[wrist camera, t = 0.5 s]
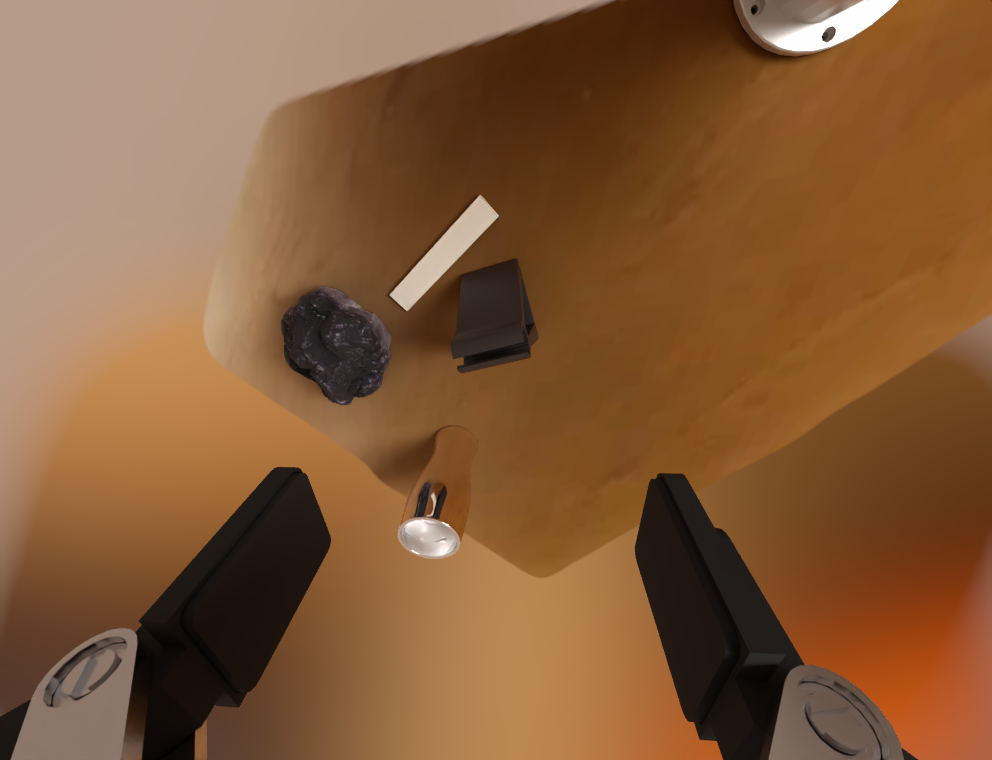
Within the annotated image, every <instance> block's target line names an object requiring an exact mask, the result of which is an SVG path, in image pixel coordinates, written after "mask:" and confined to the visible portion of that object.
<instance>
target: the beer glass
mask: <svg viewBox="0 0 992 760" xmlns="http://www.w3.org/2000/svg"><path fill="white" fill-rule="evenodd" d="M477 450H478V441H477V439H476V437H475V436H474V435H473V434H472V433H471V432H470V431H469V430H467V429H465V428H462V427H458V426H449V427H446V428H443V429H441V430H440V431H439V432H438V433H437V435H436V437H435V440H434V449H433V453H432V456H431V458H430V460H429V461H428V463H427V465H426V466H425V468H424V469H423V471H422V472H421V474H420V475H419V477H418V478H417V480H416V482H415V484H414V485H413V487H412V490H411V492H410V494H409V497H408V499H407V503H406V505H405V509H404V512H403V515H402V519H401V522H400V526H399V528H398V532H397V535H398V539H399V541H400V543H401V544H402V545H403V547H404V548H406V549H407V550H408V551H410V552H411V553H413V554H415V555H418V556H421V557H424V558H429V559H442V558H447V557H450V556H452V555H453V554H455V553H456V552H457V551H458V549H459V547H460V543H461V539H462V536H463V533H464V529H465V526H466V522H467V518H468V514H469V508H470V499H471V464H472V461H473V459H474V457H475V455H476V453H477Z"/></svg>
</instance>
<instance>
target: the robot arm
mask: <svg viewBox="0 0 992 760" xmlns="http://www.w3.org/2000/svg"><path fill="white" fill-rule="evenodd" d="M898 1H899V0H733V2H734V7H735V11H736V13H737V16H738V18H739V20H740V23H741V25H742V27H743V28H744V30H745V31H746V32H747V34H748V35H749V36H750V38H751V39H752V40H753V41H754V42H756V43H757V44H758V45H760V46H761V47H762V48H763V49H765V50H768V51H770V52H773V53H776V54H778V55H786V56H802V55H809V54H815V53H817V52H820V51H823V50H826V49H829V48H832V47H834V46H836V45H838V44H840V43H843V42H845V41H847V40H849V39H851V38H853V37H854V36H856V35H857V34H859V33H860V32H862V31H864V30H865V29H867V28H868V27H870V26H871V25H872V24H874V23H875V22H876V21H877V20H878V19H879V18H881V17H882V16H883V15H884V14H885V13H887V12H888V11H889V10H890V9H891V8H892V7H893V6H894V5H895V4H896V3H897V2H898ZM751 7H753V8H754V9H755V12H754V15H753V14H752V13H751ZM822 35H823V40H822ZM330 543H331V537H330V534H329V531H328V528H327V526H326V523H325V521H324V518H323V516H322V513H321V510H320V508H319V505H318V502H317V500H316V498H315V495H314V492H313V489H312V487H311V484H310V482H309V479H308V477H307V475H306V474H305V473H303V472H302V471H301V469H299V468H295V467H277V468H274V469H273V470H272V471H271V472H270V473H269V474H268V475H267V476H266V477H265V479H264V480H263V481H262V482H261V483H260V484H259V485H258V487H257V488H256V489H255V490H254V491H253V492H252V493H251V494H250V496H249V497H248V498H247V499H246V500H245V501H244V502H243V503H242V505H241V506H240V507H239V508H238V509H237V510H236V511H235V513H234V514H233V515H232V516H231V517H230V518H229V519H228V521H227V522H226V523H225V524H224V525H223V526H222V527H221V529H220V530H219V531H218V532H217V533H216V534H215V535H214V536H213V537H212V539H211V540H210V541H209V542H208V543H207V544H206V546H205V547H204V548H203V549H202V550H201V551H200V552H199V553H198V554H197V556H196V557H195V558H194V559H193V560H192V561H191V562H190V564H189V565H188V566H187V567H186V568H185V569H184V570H183V571H182V573H181V574H180V575H179V576H178V577H177V578H176V579H175V580H174V582H173V583H172V584H171V585H170V586H169V587H168V588H167V589H166V591H165V592H164V593H163V594H162V595H161V596H160V597H159V599H158V600H157V601H156V602H155V603H154V604H153V605H152V606H151V608H150V609H149V610H148V611H147V612H146V613H145V614H144V616H143V617H142V618H141V619H140V620H139V622H140V623H141V624H142V626H141V627H140V628H139V629H138V630H137V631H136V633H134V632H133V631H132V630H131V629H125V628H120V629H114V630H109V631H107V632H104V633H102V634H99V635H97V636H95V637H93V638H91V639H90V640H88V641H86V642H84V643H82V644H81V645H79V646H78V647H77V648H75V649H74V650H73V651H71V652H70V653H69V654H67V655H66V656H65V657H64V658H62V659H61V660H60V661H59V662H58V663H57V664H56V665H55V666H54V667H53V668H52V669H51V670H50V671H49V672H48V674H47V675H46V676H45V677H44V679H43V680H42V681H41V682H40V684H39V685H38V687H37V689H36V691H35V693H34V695H33V697H32V699H31V700H29V701H27V702H26V703H24V704H22V705H20V706H18V707H17V708H15V709H13V710H11V711H10V712H8V713H6V714H4V715H3V716H1V717H0V760H207V744H206V743H207V741H206V740H207V739H206V718H207V717H208V715H209V713H210V712H211V710H212V708H213V707H214V705H216V706H226V707H239V706H240V705H241V703H242V701H243V699H244V697H245V695H246V694H247V692H250V691H251V690H252V689H253V688H254V687H255V686H256V685H257V683H258V681H259V679H260V677H261V676H262V674H263V672H264V670H265V668H266V666H267V665H268V663H269V661H270V659H271V657H272V655H273V653H274V651H275V650H276V648H277V646H278V644H279V642H280V640H281V638H282V636H283V635H284V633H285V631H286V629H287V627H288V625H289V623H290V621H291V620H292V618H293V616H294V614H295V612H296V610H297V608H298V606H299V604H300V603H301V601H302V599H303V597H304V595H305V593H306V591H307V590H308V588H309V586H310V584H311V582H312V580H313V578H314V576H315V575H316V573H317V571H318V569H319V567H320V565H321V563H322V561H323V559H324V558H325V556H326V554H327V552H328V550H329V548H330ZM635 555H636V560H637V564H638V567H639V570H640V574H641V577H642V580H643V584H644V587H645V590H646V593H647V597H648V600H649V603H650V606H651V609H652V613H653V616H654V619H655V623H656V626H657V629H658V632H659V636H660V639H661V642H662V646H663V649H664V652H665V655H666V659H667V662H668V665H669V669H670V672H671V675H672V678H673V681H674V685H675V688H676V691H677V695H678V698H679V701H680V705H681V708H682V711H683V713H684V715H685V718H686V719H687V721H689V722H694V724H695V726H696V730H697V733H698V736H699V739H700V740H712V741H717V743H718V746H719V749H720V751H721V754H722V757H723V760H918V759H916V758H915V757H914V756H912V755H911V754H909V753H908V752H907V751H905V750H904V749H902V748H901V744H900V742H899V739H898V737H897V735H896V734H895V731H894V729H893V727H892V726H891V724H890V723H889V721H888V720H887V719H886V717H885V716H884V715H883V713H882V712H881V711H880V709H879V708H878V707H877V706H876V705H875V704H874V703H873V702H872V701H871V700H870V699H869V698H868V697H867V696H866V695H865V694H864V693H863V692H862V691H861V690H860V689H859V688H857V687H856V686H854V685H853V684H852V683H850V682H849V681H847V680H846V679H845V678H843V677H841V676H839V675H838V674H835V673H834V672H831V671H830V670H827V669H825V668H821V667H817V666H814V665H804V663H803V661H802V660H801V658H800V656H799V654H798V653H797V651H796V650H795V648H794V646H793V644H792V643H791V641H790V639H789V638H788V636H787V634H786V633H785V631H784V629H783V627H782V626H781V624H780V622H779V621H778V619H777V617H776V616H775V614H774V612H773V611H772V609H771V607H770V605H769V604H768V602H767V600H766V599H765V597H764V595H763V594H762V592H761V590H760V588H759V587H758V585H757V583H756V582H755V580H754V578H753V577H752V575H751V573H750V572H749V570H748V568H747V567H746V565H745V563H744V561H743V560H742V558H741V556H740V555H739V553H738V551H737V550H736V548H735V546H734V544H733V543H732V541H731V539H730V538H729V537H728V535H727V534H726V532H724V531H723V530H722V529H719V528H714V526H713V524H712V523H711V521H710V519H709V517H708V516H707V514H706V512H705V510H704V508H703V507H702V505H701V503H700V501H699V499H698V498H697V496H696V494H695V492H694V491H693V489H692V487H691V485H690V484H689V482H688V480H687V478H686V477H685V476H684V475H683V474H666V473H660V474H658V475H657V477H656V479H651V480H650V482H649V486H648V491H647V495H646V500H645V504H644V509H643V513H642V518H641V522H640V527H639V531H638V536H637V540H636V545H635Z"/></svg>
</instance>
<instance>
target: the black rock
mask: <svg viewBox="0 0 992 760" xmlns="http://www.w3.org/2000/svg"><path fill="white" fill-rule="evenodd" d="M281 324H282V334H283V336H284V342H285V345H284V354H285V358H286V362H287V363H288V365H289V366H290V367H291V368H292V369H293V370H294V371H296V372H298V373H300V374H301V375H303V376H304V377H306V378H308V379H311V380H313V381H315V382H316V383H318V386H319V387H321V389H322V392H323V394H324V395H325V397H327V398H328V399H329V400H330V401H331V402H334V403H337V404H340V405H348V404H350V403H351V401H352V400H353V398H354V397H359V398H360V397H365V396H368V395H370V394H372V393H373V392H374V391H376V390H377V389H379V388H380V387H381V385H382V380H383V375H382V374H383V372H384V371H385V370H386V368H387V366H388V364H389V360H390V358H391V352H390V349H389V347H390V343H391V335H390V334H389V332H388V331H387V329H386V328H385V326H384V324H383V322H382V321H381V320H380V319H379V318H378V317H377V315H375V314H374V313H370V312H368V311H366V310H364V309H363V308H362V307H361V306H360V305H358V304H357V303H356V302H354V300H352V299H349V297H348V296H347V295H345V294H344V293H343V292H341V291H339V290H336V289H333V288H330V287H323V286H321V287H319V288H317V289H315V290H313V291H311V292H309V293H307V294H305V295H303V296H302V297H301V298H300V299H299V301H298V303H297V304H296V305H295V306H293V307H290V308H289V310H288V311H287V312H286V314H285V315H284V317H283V319H282V320H281Z"/></svg>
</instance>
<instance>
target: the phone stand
mask: <svg viewBox="0 0 992 760" xmlns="http://www.w3.org/2000/svg"><path fill="white" fill-rule="evenodd" d="M537 340H538V334H537V330H536V327H535V323H534V319H533V316H532V312H531V308H530V304H529V301H528V297H527V293H526V290H525V286H524V282H523V278H522V275H521V271H520V267H519V264H518V260H517V259H514V260H511V261H507V262H504V263H501V264H497V265H494V266H491V267H487V268H484V269H481V270H477V271H474V272H470V273H467V274H464V275H462V277H461V288H460V299H459V310H458V321H457V332H456V336H455V338H454V339H453V340H452V344H451V350H452V356H453V359H456V358H460V357H463V358H464V365H461V366H457V369H458V371H459V372H460V373H466V372H470V371H474V370H479V369H483V368H487V367H492V366H496V365H500V364H505V363H509V362H514V361H518V360H522V359H527V358H530V357H531V353H530V348H531V346H532V345H533V344H534V343H535V342H536V341H537Z"/></svg>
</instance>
